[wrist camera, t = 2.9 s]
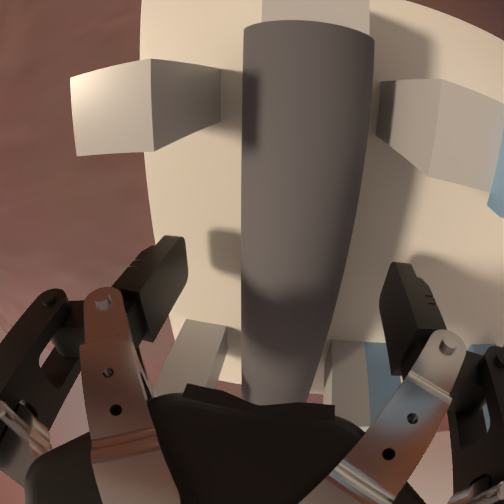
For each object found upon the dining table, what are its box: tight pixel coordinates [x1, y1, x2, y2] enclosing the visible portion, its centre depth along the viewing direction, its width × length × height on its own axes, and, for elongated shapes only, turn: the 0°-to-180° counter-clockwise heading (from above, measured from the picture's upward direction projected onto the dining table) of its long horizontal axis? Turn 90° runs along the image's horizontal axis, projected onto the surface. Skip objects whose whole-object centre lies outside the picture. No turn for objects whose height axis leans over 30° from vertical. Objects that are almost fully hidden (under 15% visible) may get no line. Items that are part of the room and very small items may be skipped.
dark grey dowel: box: [241, 0, 375, 405], centre depth 11 cm, size 20×4×4 cm, turn 178°
